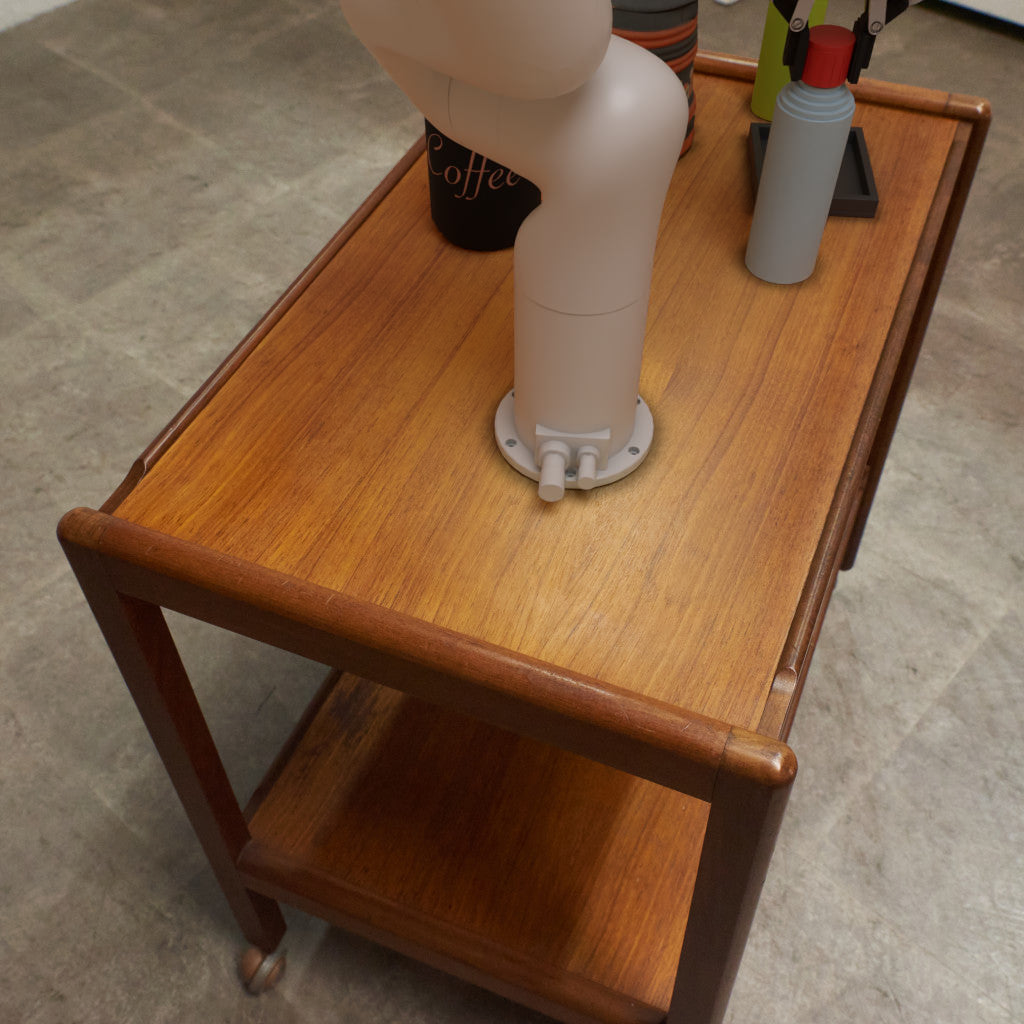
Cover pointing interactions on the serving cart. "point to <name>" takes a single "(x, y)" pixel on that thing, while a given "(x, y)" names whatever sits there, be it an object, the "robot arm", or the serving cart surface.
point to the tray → (854, 178)
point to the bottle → (798, 180)
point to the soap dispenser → (776, 58)
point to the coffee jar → (475, 195)
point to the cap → (828, 56)
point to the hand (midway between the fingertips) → (822, 72)
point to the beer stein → (664, 39)
